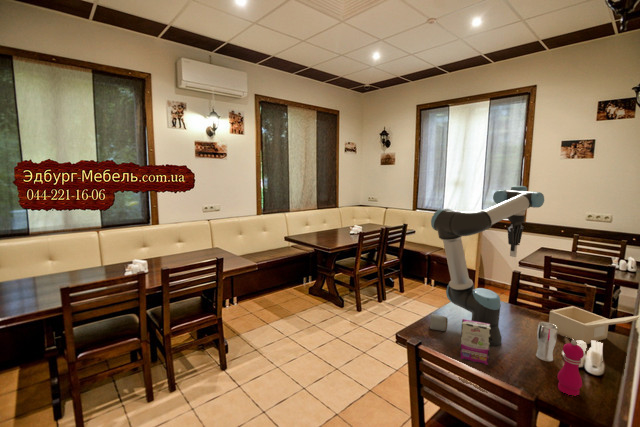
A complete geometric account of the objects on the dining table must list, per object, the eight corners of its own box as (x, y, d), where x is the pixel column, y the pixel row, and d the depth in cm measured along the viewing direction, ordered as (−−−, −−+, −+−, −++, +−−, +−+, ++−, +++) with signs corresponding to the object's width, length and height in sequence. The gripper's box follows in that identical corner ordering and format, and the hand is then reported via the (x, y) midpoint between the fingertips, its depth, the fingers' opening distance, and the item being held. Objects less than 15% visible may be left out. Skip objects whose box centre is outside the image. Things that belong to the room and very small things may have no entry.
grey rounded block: (447, 334, 156) (448, 319, 155) (429, 331, 158) (430, 317, 157) (445, 324, 166) (446, 311, 165) (429, 322, 168) (430, 308, 167)
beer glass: (555, 364, 132) (558, 330, 130) (535, 358, 135) (538, 326, 133) (553, 356, 137) (557, 324, 135) (534, 351, 141) (537, 320, 139)
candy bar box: (487, 359, 135) (490, 323, 133) (488, 365, 130) (491, 328, 128) (459, 352, 140) (462, 318, 138) (459, 358, 135) (461, 323, 133)
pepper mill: (560, 394, 113) (566, 343, 111) (553, 382, 120) (558, 333, 117) (584, 400, 111) (591, 347, 108) (576, 387, 118) (582, 337, 115)
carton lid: (585, 325, 145) (586, 327, 144) (624, 320, 131) (625, 322, 131) (609, 319, 151) (610, 321, 151) (648, 314, 137) (649, 316, 137)
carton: (583, 345, 146) (586, 325, 145) (548, 329, 161) (550, 311, 160) (607, 338, 152) (609, 319, 151) (570, 323, 167) (572, 305, 166)
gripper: (517, 216, 163) (513, 259, 166) (530, 214, 169) (526, 256, 172) (503, 214, 169) (499, 256, 172) (516, 212, 176) (512, 253, 179)
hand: (513, 256), depth 172 cm, fingers closed
